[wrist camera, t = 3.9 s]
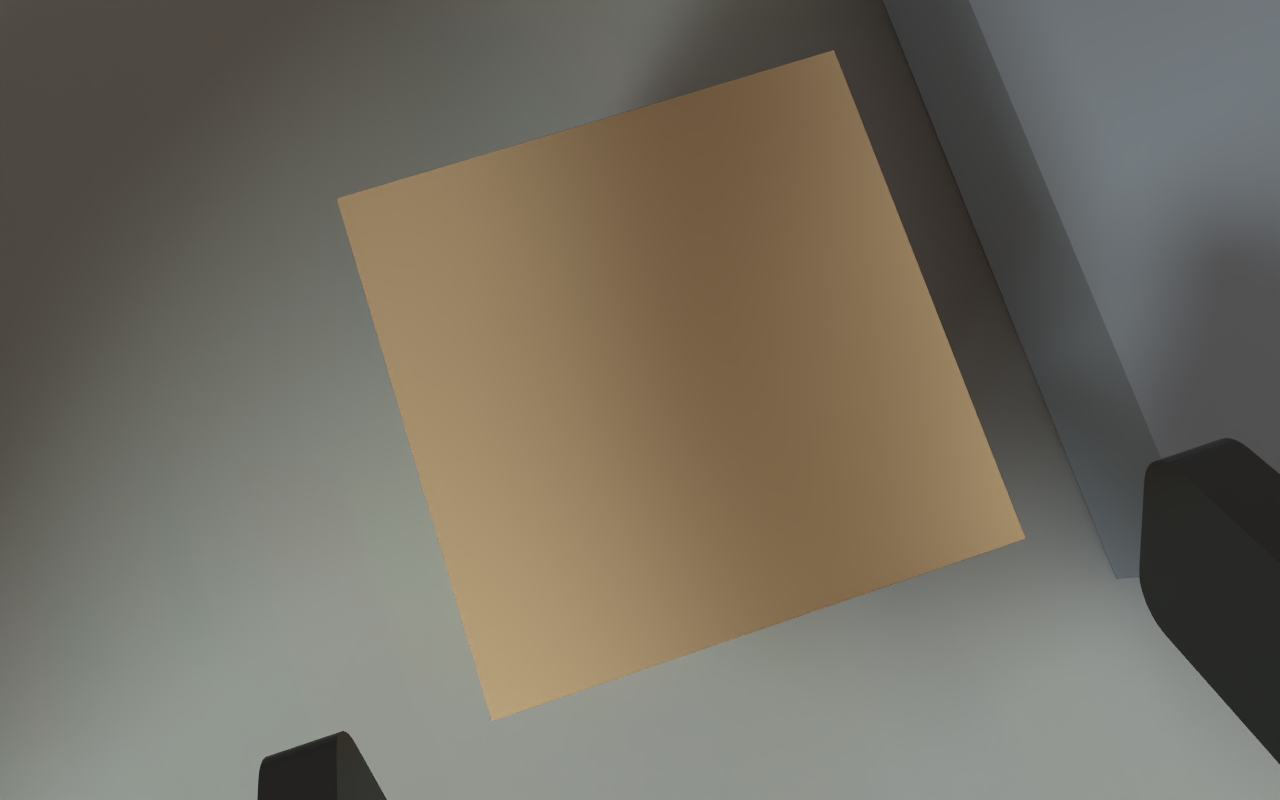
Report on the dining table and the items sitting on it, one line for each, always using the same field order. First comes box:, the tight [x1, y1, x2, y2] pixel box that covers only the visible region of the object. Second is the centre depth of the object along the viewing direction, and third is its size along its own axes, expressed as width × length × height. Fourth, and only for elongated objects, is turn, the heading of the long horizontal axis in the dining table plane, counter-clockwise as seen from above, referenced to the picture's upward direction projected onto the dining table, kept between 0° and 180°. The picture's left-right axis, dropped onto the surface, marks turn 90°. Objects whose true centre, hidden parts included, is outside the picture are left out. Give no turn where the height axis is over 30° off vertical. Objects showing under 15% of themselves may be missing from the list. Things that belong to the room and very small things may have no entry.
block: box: [337, 50, 1026, 721], centre depth 15 cm, size 5×5×9 cm
